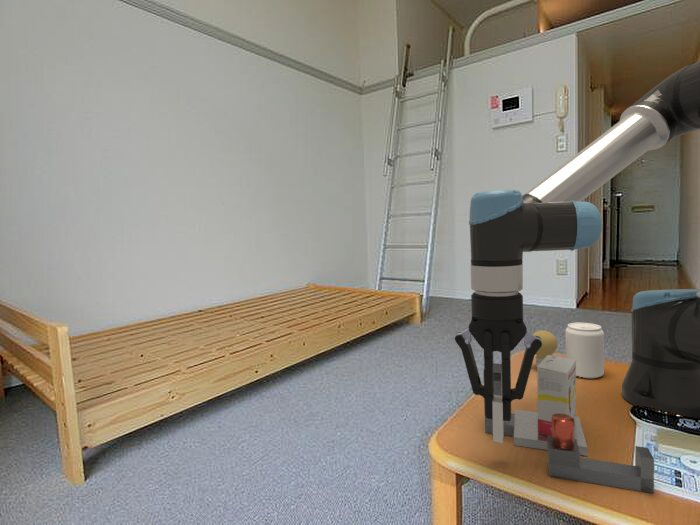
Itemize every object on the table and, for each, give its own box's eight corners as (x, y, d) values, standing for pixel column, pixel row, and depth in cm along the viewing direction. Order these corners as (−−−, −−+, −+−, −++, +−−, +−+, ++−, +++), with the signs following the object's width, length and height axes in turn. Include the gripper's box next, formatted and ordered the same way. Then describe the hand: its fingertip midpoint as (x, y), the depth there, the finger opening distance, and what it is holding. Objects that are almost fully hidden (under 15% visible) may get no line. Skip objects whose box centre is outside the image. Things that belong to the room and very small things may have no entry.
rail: (647, 480, 59) (647, 447, 59) (653, 493, 56) (654, 458, 56) (547, 464, 64) (547, 434, 64) (549, 475, 61) (548, 444, 61)
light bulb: (557, 366, 106) (557, 328, 105) (557, 374, 101) (557, 335, 100) (531, 363, 109) (530, 327, 108) (529, 371, 104) (528, 333, 103)
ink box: (568, 442, 68) (567, 372, 67) (536, 434, 71) (535, 367, 70) (577, 421, 74) (577, 358, 73) (547, 414, 77) (547, 353, 76)
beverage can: (564, 367, 106) (563, 321, 105) (600, 369, 103) (600, 322, 102) (567, 378, 98) (567, 329, 97) (606, 381, 95) (606, 330, 94)
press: (578, 424, 76) (578, 364, 75) (587, 456, 66) (587, 387, 65) (488, 413, 82) (486, 357, 81) (483, 440, 72) (482, 377, 71)
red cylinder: (576, 454, 63) (576, 413, 62) (579, 468, 59) (579, 426, 59) (547, 449, 64) (547, 410, 64) (549, 463, 61) (548, 422, 60)
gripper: (541, 288, 64) (542, 433, 66) (456, 287, 69) (459, 421, 71) (544, 297, 57) (544, 458, 59) (449, 294, 62) (453, 443, 64)
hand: (498, 438), depth 65 cm, fingers closed
